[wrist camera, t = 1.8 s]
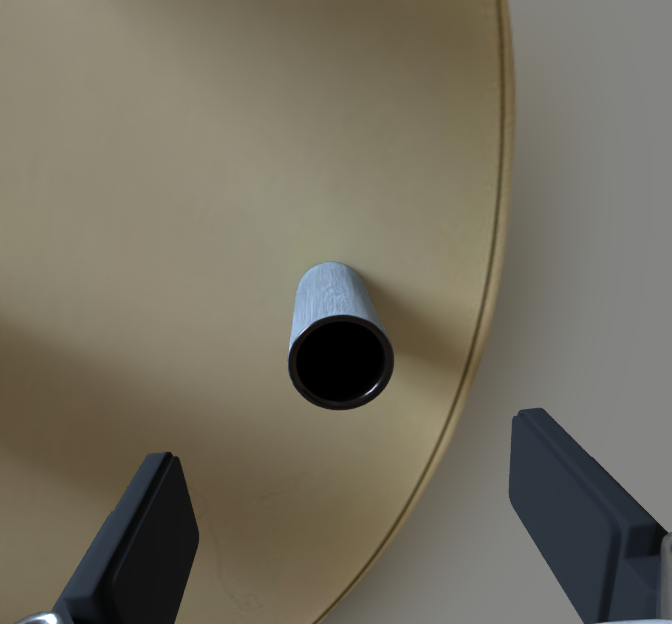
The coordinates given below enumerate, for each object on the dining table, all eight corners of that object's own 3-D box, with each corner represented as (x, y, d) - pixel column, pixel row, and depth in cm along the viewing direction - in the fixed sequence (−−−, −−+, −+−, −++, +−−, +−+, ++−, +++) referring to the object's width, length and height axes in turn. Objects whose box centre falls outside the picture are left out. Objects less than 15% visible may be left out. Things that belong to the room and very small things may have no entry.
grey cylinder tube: (305, 253, 26) (300, 303, 16) (373, 270, 26) (408, 328, 17) (289, 318, 27) (277, 400, 17) (354, 333, 28) (377, 420, 18)
